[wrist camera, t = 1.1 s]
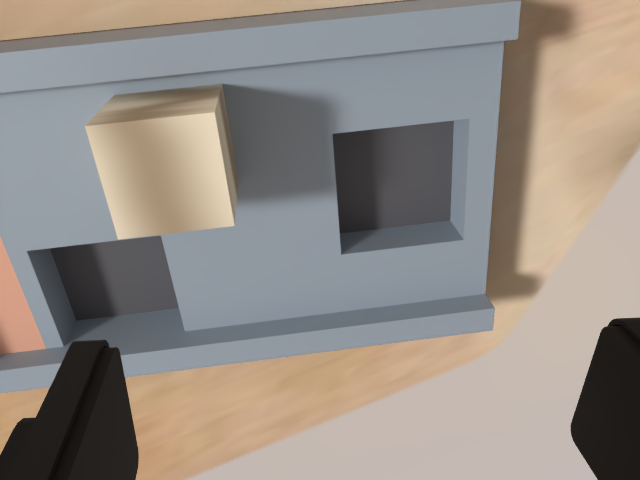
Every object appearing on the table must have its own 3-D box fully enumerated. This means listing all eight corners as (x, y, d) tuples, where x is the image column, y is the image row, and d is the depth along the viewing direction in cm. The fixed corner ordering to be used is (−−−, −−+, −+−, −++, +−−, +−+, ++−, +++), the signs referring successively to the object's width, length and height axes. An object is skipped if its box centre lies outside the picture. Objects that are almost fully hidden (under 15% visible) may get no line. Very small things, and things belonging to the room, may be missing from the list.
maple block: (222, 83, 26) (214, 112, 22) (238, 182, 28) (234, 226, 24) (114, 94, 26) (84, 126, 21) (140, 193, 28) (118, 239, 24)
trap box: (484, -8, 28) (536, 3, 23) (467, 288, 37) (502, 346, 31) (-169, 57, 26) (-275, 85, 21) (-26, 349, 35) (-76, 421, 30)
